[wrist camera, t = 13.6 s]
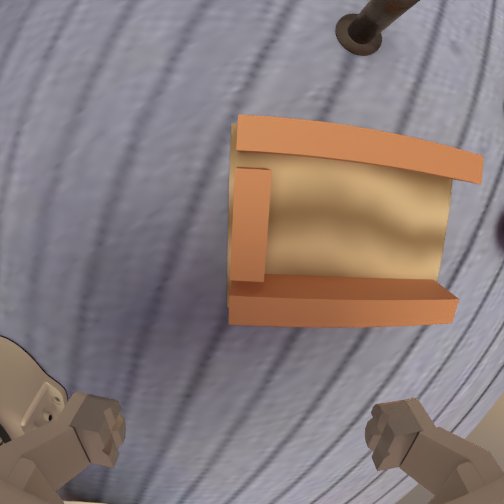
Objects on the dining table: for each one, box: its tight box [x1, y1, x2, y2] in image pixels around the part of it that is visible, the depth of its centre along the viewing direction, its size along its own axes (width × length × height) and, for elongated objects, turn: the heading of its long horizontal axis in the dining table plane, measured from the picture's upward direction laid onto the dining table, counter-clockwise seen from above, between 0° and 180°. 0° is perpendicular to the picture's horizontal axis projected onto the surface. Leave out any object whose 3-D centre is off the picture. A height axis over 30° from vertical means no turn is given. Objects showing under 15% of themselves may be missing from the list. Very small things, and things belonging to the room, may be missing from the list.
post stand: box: [336, 0, 420, 55], centre depth 15 cm, size 4×4×16 cm
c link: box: [229, 115, 484, 327], centre depth 24 cm, size 20×15×5 cm
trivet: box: [227, 123, 452, 307], centre depth 27 cm, size 16×21×1 cm
